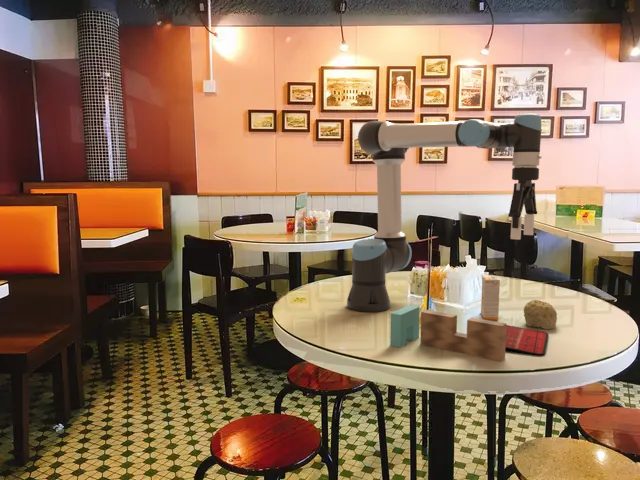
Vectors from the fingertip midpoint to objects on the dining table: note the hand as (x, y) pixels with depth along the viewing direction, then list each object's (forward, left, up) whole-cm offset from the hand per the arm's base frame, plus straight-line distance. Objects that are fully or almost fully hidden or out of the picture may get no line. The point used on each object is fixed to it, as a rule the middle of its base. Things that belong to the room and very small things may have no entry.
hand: (522, 237), depth 157 cm
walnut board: (-4, -35, -27) cm, 45 cm away
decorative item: (+6, +2, -27) cm, 28 cm away
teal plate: (-19, -37, -27) cm, 50 cm away
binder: (+5, -18, -28) cm, 34 cm away
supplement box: (-10, +2, -27) cm, 29 cm away
